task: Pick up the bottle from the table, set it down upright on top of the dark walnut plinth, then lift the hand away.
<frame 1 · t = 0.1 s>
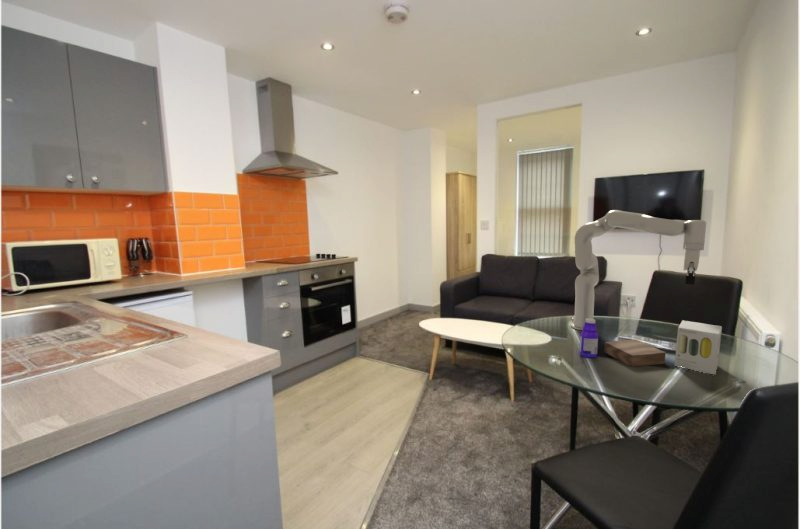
hand: (690, 282, 166), 31 cm above the table, tool pointing down, fingers open, 9 cm apart
supplement box: (695, 366, 148), on the table
plinth: (633, 357, 158), on the table
bottle: (588, 356, 161), on the table
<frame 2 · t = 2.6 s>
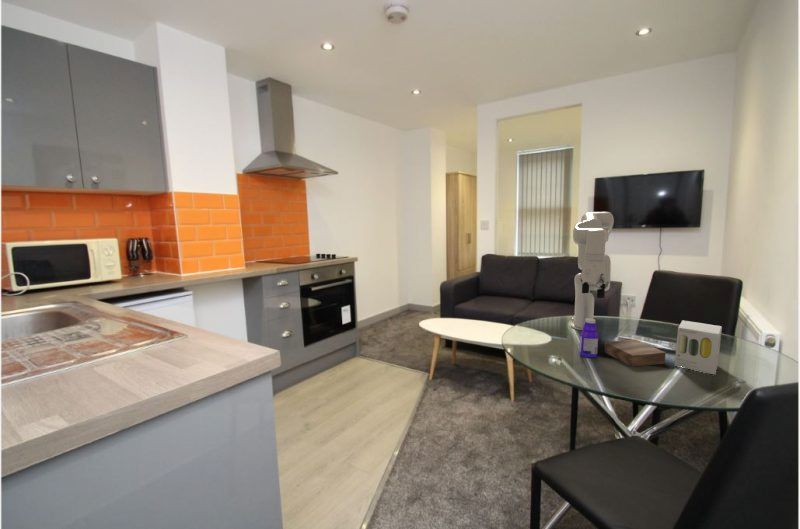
hand: (592, 295, 157), 29 cm above the table, tool pointing down, fingers open, 9 cm apart
nothing on the table moved.
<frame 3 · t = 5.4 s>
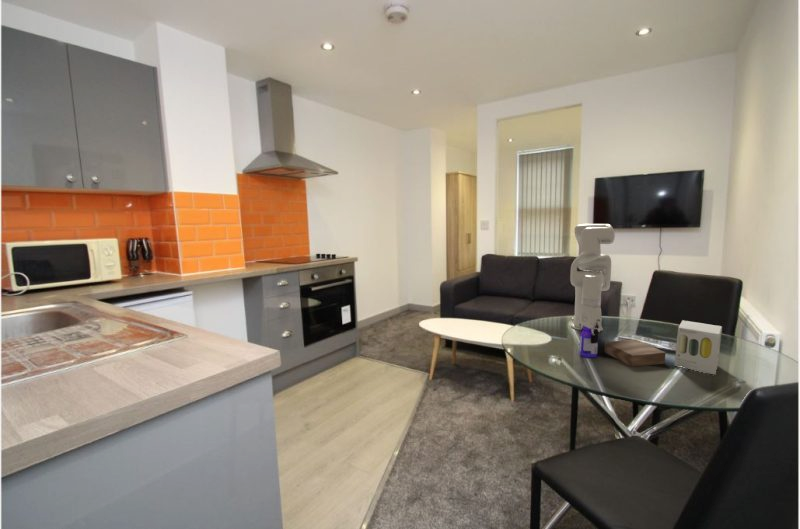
hand: (589, 340, 160), 8 cm above the table, tool pointing down, fingers closed on bottle, 5 cm apart
bottle: (588, 356, 161), on the table, touching gripper
everything else where it was.
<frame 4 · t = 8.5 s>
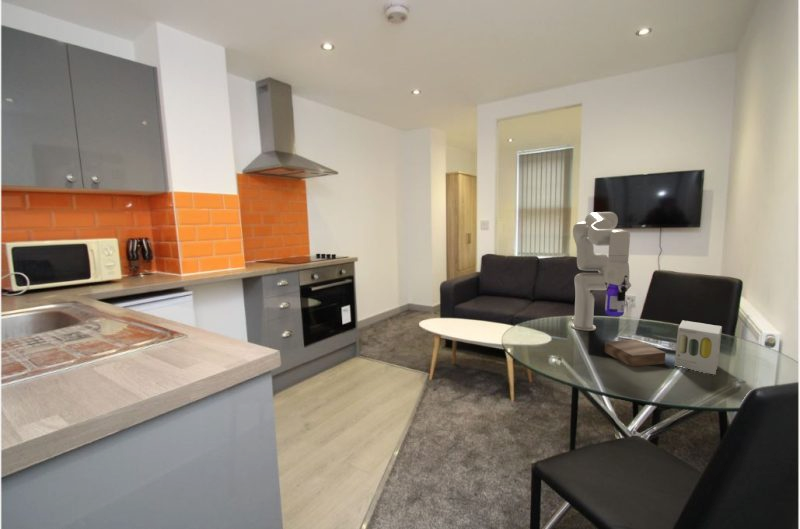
hand: (615, 298, 156), 27 cm above the table, tool pointing down, fingers closed on bottle, 5 cm apart
bottle: (614, 315, 157), point 19 cm above the table, touching gripper
everything else where it was.
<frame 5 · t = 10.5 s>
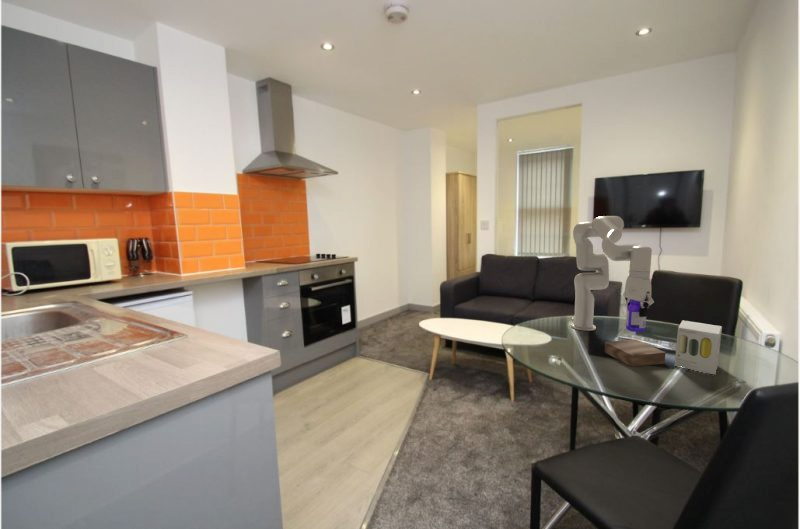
hand: (636, 314, 155), 20 cm above the table, tool pointing down, fingers closed on bottle, 5 cm apart
bottle: (635, 331, 156), point 12 cm above the table, touching gripper
everything else where it was.
when the fingers open (14 cm above the table, at t = 12.1 s): bottle drops 1 cm, resting on plinth.
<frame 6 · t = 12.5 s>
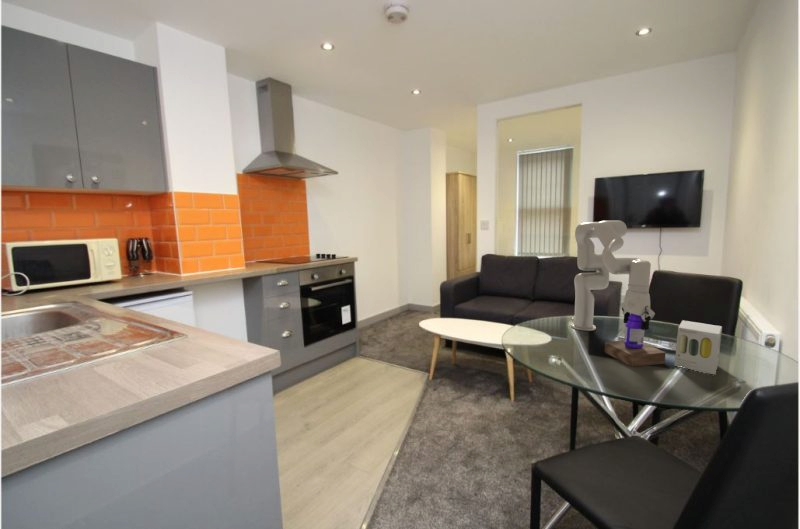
hand: (635, 326, 156), 15 cm above the table, tool pointing down, fingers open, 9 cm apart
bottle: (633, 347, 158), point 5 cm above the table, touching plinth
everything else where it was.
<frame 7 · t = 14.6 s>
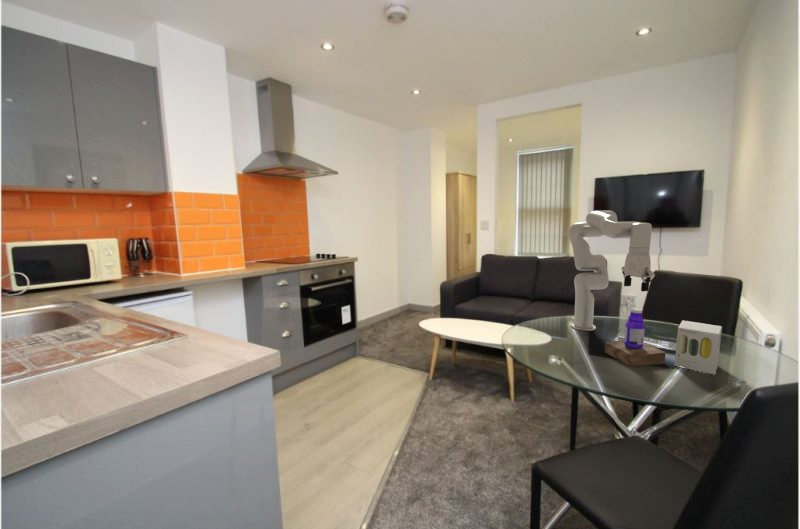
hand: (635, 288, 158), 31 cm above the table, tool pointing down, fingers open, 9 cm apart
nothing on the table moved.
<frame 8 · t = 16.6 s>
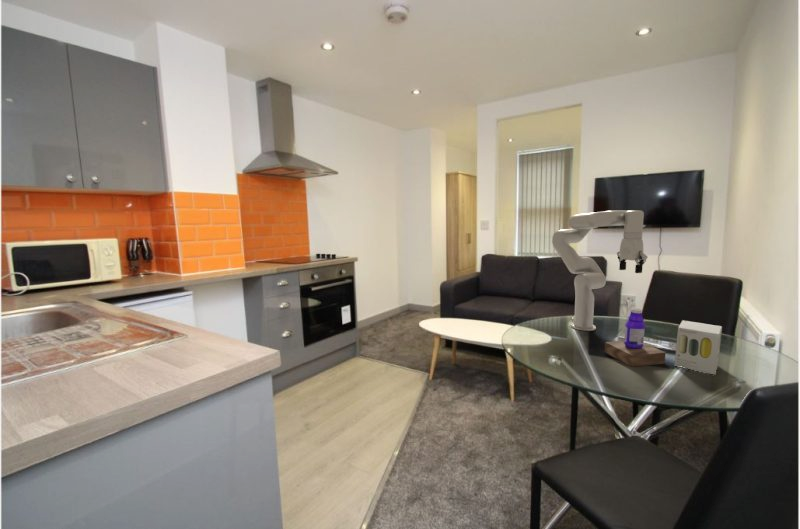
hand: (630, 271, 171), 36 cm above the table, tool pointing down, fingers open, 9 cm apart
nothing on the table moved.
at the end: bottle inside the target area on the plinth (0.4 cm from its centre), point 4.8 cm above the plinth's base; bottle tilted 0°; the gripper is holding nothing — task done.
